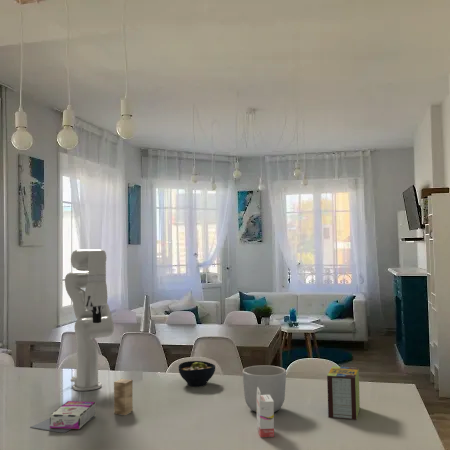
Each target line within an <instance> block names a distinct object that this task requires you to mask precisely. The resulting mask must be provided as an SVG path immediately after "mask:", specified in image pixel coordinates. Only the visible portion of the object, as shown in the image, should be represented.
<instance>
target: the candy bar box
mask: <svg viewBox="0 0 450 450" xmlns="http://www.w3.org/2000/svg"><path fill="white" fill-rule="evenodd" d="M95 415H96V402H95V401H80V400H79V401H77V400H67V401H66V402H65V403H63V404H62V405H61V406H59V407H58V408H57V409H55V411H53V412H52V413H50V414H49V418H50V428H61V429H71V430H81V428H82V427H83V426H84V425H85V424H86V423H87V422H89V421H90V420H89V419H90V418H91V417H95ZM88 420H89V421H88Z"/></svg>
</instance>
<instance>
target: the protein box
mask: <svg viewBox="0 0 450 450" xmlns="http://www.w3.org/2000/svg"><path fill="white" fill-rule="evenodd" d="M359 370H360V368H359V367H354V366H353V367H352V366H351V367H349V366H338V365H337V366H335V365H333V366H331V368H330V369H329V370H328V373H327V374H326V379H327V413H328V414H327V415H328V418H330V419H331V418H332V419H342V420H343V419H345V420H354V421H355V420H356V421H357V420H358V416H359V411H360V408H361V406H360V403H361V402H360V400H361V399H360V377H359V376H360V375H359V374H360V373H359V372H360V371H359Z"/></svg>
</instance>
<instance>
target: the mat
mask: <svg viewBox="0 0 450 450" xmlns="http://www.w3.org/2000/svg"><path fill="white" fill-rule="evenodd" d="M93 419H96V416H93V417H91V418H90V419H89V420H88V421H87V422H89V421H91V420H93ZM29 428H30V429H37V430H43V431H49V432H54V433H60V434H61V433H62V434H65V433H67V432H69V431H71V430H72V429H61V428H50V417H49V418H47V419H44V420H42V421H40V422H38V423H36V424H33V425H32V426H30V427H29Z"/></svg>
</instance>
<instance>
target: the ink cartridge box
mask: <svg viewBox="0 0 450 450" xmlns="http://www.w3.org/2000/svg"><path fill="white" fill-rule="evenodd" d="M258 392H259V394H258ZM256 430H257V432H258V434H259V436H260V437H259V438H274V437H275V412H274V401H273V399H272V398H271V396H270V395H261V392H260V390H259V388H258V387H257V412H256Z"/></svg>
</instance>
